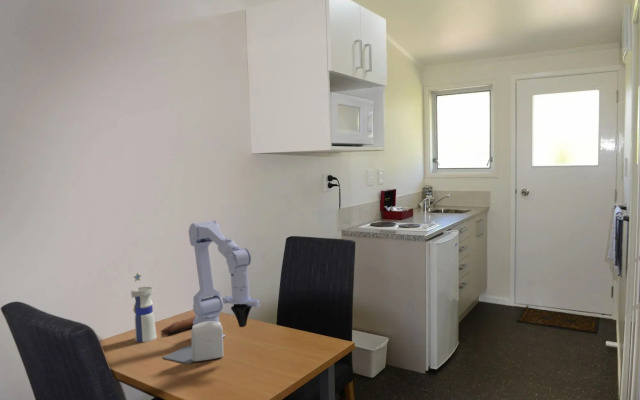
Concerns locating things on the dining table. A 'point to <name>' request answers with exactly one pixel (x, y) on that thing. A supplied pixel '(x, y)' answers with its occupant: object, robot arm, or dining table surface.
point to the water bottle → (144, 314)
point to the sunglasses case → (178, 326)
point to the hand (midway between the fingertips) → (242, 326)
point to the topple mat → (181, 355)
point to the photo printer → (207, 341)
